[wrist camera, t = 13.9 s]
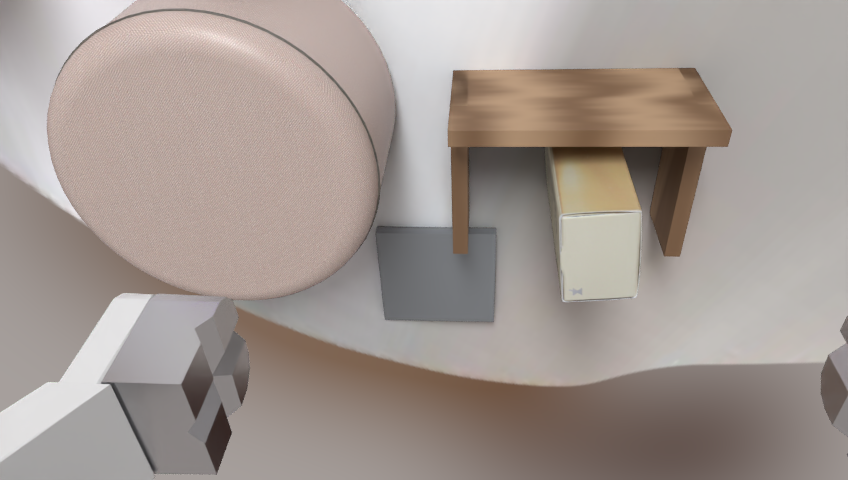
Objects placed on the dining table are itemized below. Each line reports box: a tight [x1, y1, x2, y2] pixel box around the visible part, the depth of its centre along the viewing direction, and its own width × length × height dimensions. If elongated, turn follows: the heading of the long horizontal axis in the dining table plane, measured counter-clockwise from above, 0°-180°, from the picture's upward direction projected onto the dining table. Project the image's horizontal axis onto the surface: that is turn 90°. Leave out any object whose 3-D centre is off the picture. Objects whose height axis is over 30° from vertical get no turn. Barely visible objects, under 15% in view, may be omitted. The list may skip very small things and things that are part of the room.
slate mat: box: [376, 227, 496, 322], centre depth 53 cm, size 9×9×1 cm
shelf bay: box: [448, 68, 732, 256], centre depth 43 cm, size 15×11×8 cm
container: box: [47, 0, 395, 300], centre depth 40 cm, size 18×18×12 cm
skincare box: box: [545, 147, 642, 302], centre depth 41 cm, size 6×4×12 cm
